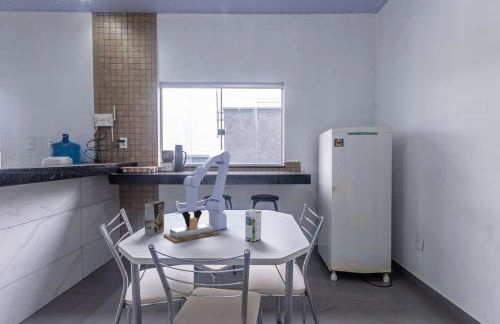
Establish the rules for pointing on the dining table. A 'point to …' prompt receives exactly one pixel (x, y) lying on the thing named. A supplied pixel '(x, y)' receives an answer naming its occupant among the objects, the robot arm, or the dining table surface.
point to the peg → (193, 223)
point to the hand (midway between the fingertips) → (191, 226)
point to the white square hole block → (190, 231)
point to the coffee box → (154, 217)
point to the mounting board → (190, 237)
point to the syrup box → (253, 225)
